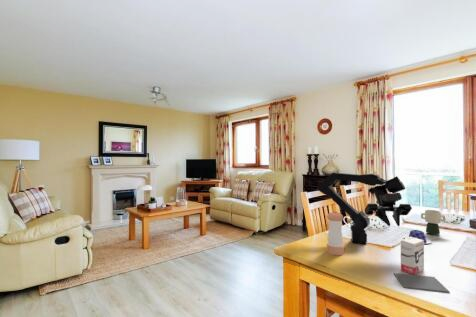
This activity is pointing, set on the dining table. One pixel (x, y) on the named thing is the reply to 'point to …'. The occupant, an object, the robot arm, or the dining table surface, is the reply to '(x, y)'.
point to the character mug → (432, 221)
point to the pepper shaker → (335, 234)
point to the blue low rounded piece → (419, 235)
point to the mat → (420, 282)
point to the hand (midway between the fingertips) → (394, 225)
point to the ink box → (412, 255)
